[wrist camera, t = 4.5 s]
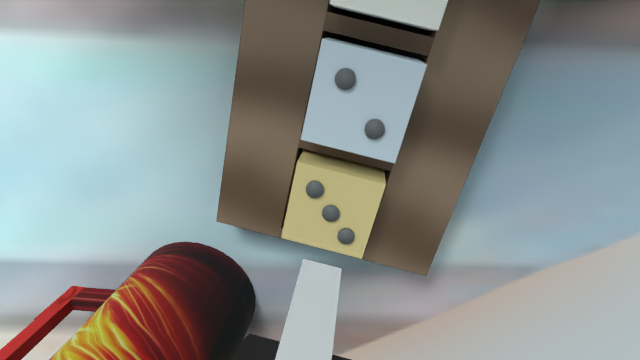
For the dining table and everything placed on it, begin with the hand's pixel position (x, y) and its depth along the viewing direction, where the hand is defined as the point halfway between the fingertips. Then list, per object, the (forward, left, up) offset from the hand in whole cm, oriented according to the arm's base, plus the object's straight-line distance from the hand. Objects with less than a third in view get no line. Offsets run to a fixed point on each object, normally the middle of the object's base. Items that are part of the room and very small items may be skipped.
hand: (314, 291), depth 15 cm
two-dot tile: (-6, 0, -10) cm, 12 cm away
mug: (+14, -10, -12) cm, 21 cm away
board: (-6, 0, -11) cm, 13 cm away
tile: (0, 0, -11) cm, 11 cm away
